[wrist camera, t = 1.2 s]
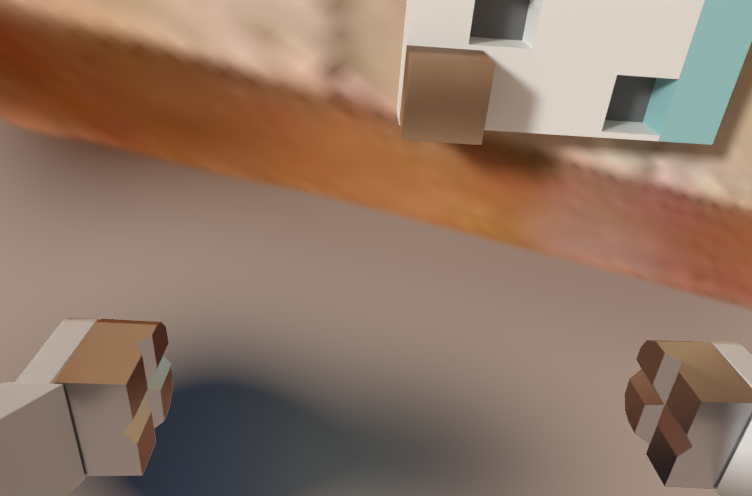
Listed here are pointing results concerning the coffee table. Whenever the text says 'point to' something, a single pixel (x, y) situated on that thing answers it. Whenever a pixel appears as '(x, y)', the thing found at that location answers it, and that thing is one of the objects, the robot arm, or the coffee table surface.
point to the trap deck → (597, 62)
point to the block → (445, 94)
